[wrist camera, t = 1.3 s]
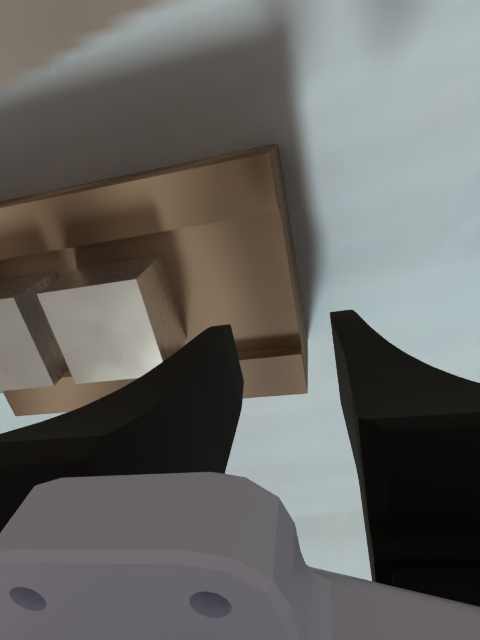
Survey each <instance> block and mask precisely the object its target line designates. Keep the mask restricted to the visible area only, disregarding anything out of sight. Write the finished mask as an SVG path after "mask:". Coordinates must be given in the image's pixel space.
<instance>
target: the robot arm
mask: <svg viewBox="0 0 480 640" xmlns="http://www.w3.org/2000/svg"><path fill="white" fill-rule="evenodd" d="M330 318H331V326H332V335H333V343H334V351H335V359H336V367H337V375H338V383H339V392H340V400H341V405H342V410H343V414H344V418H345V422H346V426H347V430H348V435H349V439H350V443H351V447H352V451H353V455H354V460H355V464H356V468H357V473H358V479H359V485H360V492H361V500H362V507H363V515H364V522H365V530H366V537H367V545H368V553H369V560H370V568H371V575H372V581H368V580H364V579H359V578H355V577H351V576H347V575H342V574H338V573H334V572H330V571H325V570H321V569H317V568H313V567H309V566H307V565H306V564H305V561H304V559H303V556H302V554H301V551H300V547H299V542H298V537H297V532H296V527H295V523H294V522H293V520H292V518H291V517H290V515H289V513H288V512H287V510H286V508H285V507H284V505H283V503H282V502H281V500H280V498H279V497H277V496H276V495H274V494H272V493H271V492H269V491H267V490H266V489H264V488H262V487H261V486H259V485H257V484H256V483H254V482H252V481H251V480H249V479H247V478H246V477H240V476H234V475H228V474H225V470H226V466H227V462H228V459H229V455H230V451H231V447H232V443H233V440H234V436H235V432H236V428H237V424H238V421H239V417H240V412H241V407H242V399H243V388H244V379H243V375H242V371H241V367H240V362H239V358H238V354H237V349H236V345H235V341H234V337H233V332H232V328H231V324H227V325H219V326H211V327H209V328H207V329H206V330H204V331H203V332H201V333H200V334H199V335H197V336H196V337H195V338H193V339H192V340H191V341H190V342H188V343H187V344H186V345H184V346H183V347H182V348H181V349H179V350H178V351H177V352H175V353H174V354H173V355H172V356H170V357H169V358H167V359H166V360H164V361H163V362H162V363H160V364H159V365H157V366H156V367H155V368H153V369H152V370H150V371H149V372H147V373H146V374H144V375H143V376H141V377H139V378H138V379H136V380H135V381H133V382H131V383H129V384H128V385H126V386H124V387H122V388H120V389H119V390H117V391H115V392H113V393H110V394H108V395H106V396H104V397H102V398H100V399H98V400H96V401H94V402H92V403H89V404H87V405H85V406H83V407H80V408H78V409H75V410H73V411H70V412H68V413H65V414H62V415H59V416H57V417H54V418H51V419H48V420H45V421H42V422H39V423H36V424H33V425H29V426H26V427H23V428H19V429H16V430H12V431H9V432H6V433H2V434H0V640H480V383H477V382H474V381H470V380H467V379H464V378H461V377H458V376H455V375H452V374H450V373H447V372H445V371H442V370H440V369H437V368H434V367H432V366H430V365H428V364H426V363H424V362H422V361H420V360H418V359H416V358H414V357H412V356H410V355H408V354H406V353H405V352H403V351H401V350H400V349H398V348H397V347H395V346H394V345H392V344H391V343H389V342H388V341H387V340H385V339H384V338H383V337H382V336H381V335H379V334H378V333H377V332H376V331H374V330H373V329H372V328H371V327H370V326H369V325H368V324H367V323H366V322H365V321H364V320H363V319H362V318H361V317H360V316H359V315H358V314H357V313H356V312H355V311H353V310H345V311H337V312H330Z"/></svg>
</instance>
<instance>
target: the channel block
mask: <svg viewBox="0 0 480 640" xmlns="http://www.w3.org/2000/svg"><path fill="white" fill-rule="evenodd" d="M161 253H163V256H164V259H165V263H166V266H167V270H168V273H169V277H170V280H171V284H172V287H173V291H174V294H175V298H176V301H177V305H178V308H179V312H180V315H181V319H182V322H183V326H184V329H185V333H186V336H187V339H186V341H185V343H184V345H186V344H187V343H188V342H190V341H191V340H192V339H193V338H195V337H196V336H197V335H199V334H200V333H201V332H203V331H204V330H206V329H207V328H209V327H211V326H219V325H227V324H231V328H232V332H233V337H234V341H235V345H236V349H237V354H238V358H239V362H240V367H241V371H242V375H243V379H244V388H243V398H254V397H266V396H279V395H292V394H305V393H308V341H307V334H306V327H305V321H304V314H303V308H302V301H301V294H300V288H299V281H298V275H297V268H296V261H295V255H294V248H293V242H292V235H291V228H290V222H289V215H288V209H287V202H286V195H285V189H284V182H283V176H282V169H281V163H280V156H279V149H278V144H274V145H270V146H265V147H260V148H255V149H250V150H246V151H241V152H236V153H231V154H227V155H222V156H217V157H212V158H208V159H203V160H198V161H193V162H188V163H184V164H179V165H174V166H169V167H165V168H160V169H155V170H150V171H146V172H141V173H136V174H131V175H126V176H122V177H117V178H112V179H107V180H103V181H98V182H93V183H88V184H84V185H79V186H74V187H69V188H64V189H60V190H55V191H50V192H45V193H41V194H36V195H31V196H26V197H22V198H17V199H12V200H7V201H2V202H0V280H1V279H7V278H13V277H19V276H25V275H32V274H38V273H44V272H50V271H57V274H58V276H59V279H60V278H61V277H63V276H64V275H66V274H67V273H69V272H70V271H72V270H73V269H75V268H76V267H81V266H87V265H93V264H99V263H106V262H112V261H118V260H124V259H130V258H136V257H142V256H149V255H155V254H161ZM184 345H183V346H184ZM136 379H138V378H134V379H123V380H113V381H102V382H92V383H81V384H75V381H74V379H73V377H72V375H71V372H70V370H69V371H68V372H67V373H66V374H65V375H64V376H63V377H62V378H61V379H60V380H59V381H58V382H57V383H56V385H55V386H49V387H39V388H28V389H17V390H7V391H3V393H4V395H5V397H6V399H7V401H8V403H9V405H10V406H11V408H12V410H13V412H14V414H15V416H24V415H37V414H49V413H62V412H70V411H73V410H75V409H78V408H80V407H83V406H85V405H87V404H89V403H92V402H94V401H96V400H98V399H100V398H102V397H104V396H106V395H108V394H110V393H113V392H115V391H117V390H119V389H120V388H122V387H124V386H126V385H128V384H129V383H131V382H133V381H135V380H136Z"/></svg>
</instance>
